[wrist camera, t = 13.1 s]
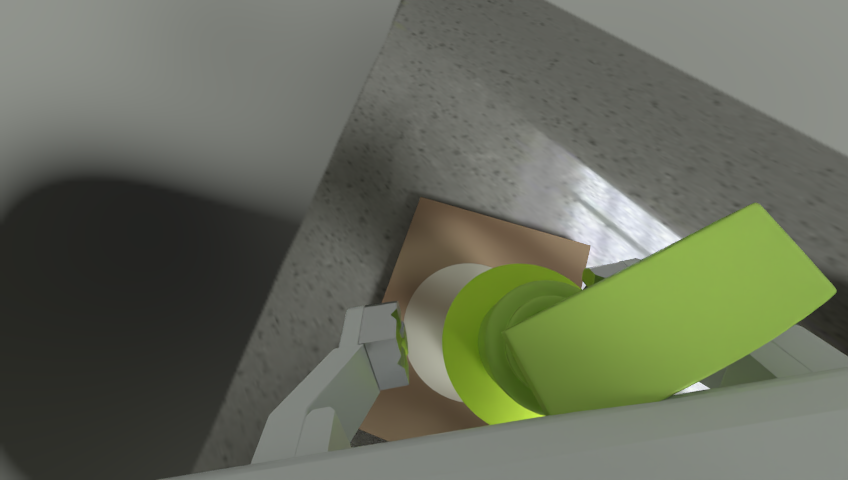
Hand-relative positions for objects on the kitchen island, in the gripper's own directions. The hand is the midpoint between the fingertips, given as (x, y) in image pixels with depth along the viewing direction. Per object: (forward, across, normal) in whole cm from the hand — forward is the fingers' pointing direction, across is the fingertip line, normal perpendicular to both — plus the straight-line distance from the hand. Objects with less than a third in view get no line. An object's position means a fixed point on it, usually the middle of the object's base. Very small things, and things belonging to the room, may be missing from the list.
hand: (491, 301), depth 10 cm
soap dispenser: (+10, -2, +12) cm, 16 cm away
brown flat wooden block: (+12, 0, +12) cm, 17 cm away
